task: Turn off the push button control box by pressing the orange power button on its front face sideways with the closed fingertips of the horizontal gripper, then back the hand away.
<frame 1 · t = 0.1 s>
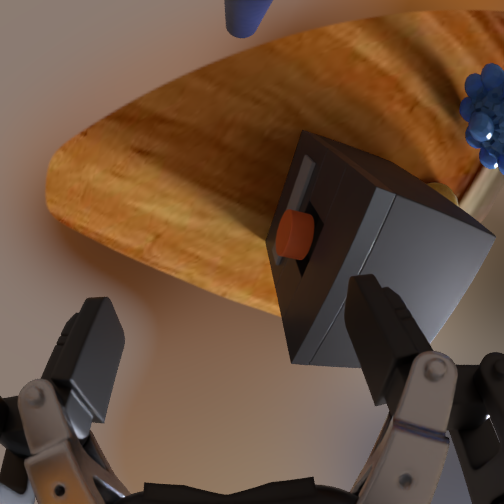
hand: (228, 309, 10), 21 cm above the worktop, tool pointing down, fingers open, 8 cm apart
power button: (294, 234, 21), point 10 cm above the worktop, slide at 0.1 cm
grapes: (455, 111, 26), on the worktop
push button control box: (331, 201, 31), on the worktop
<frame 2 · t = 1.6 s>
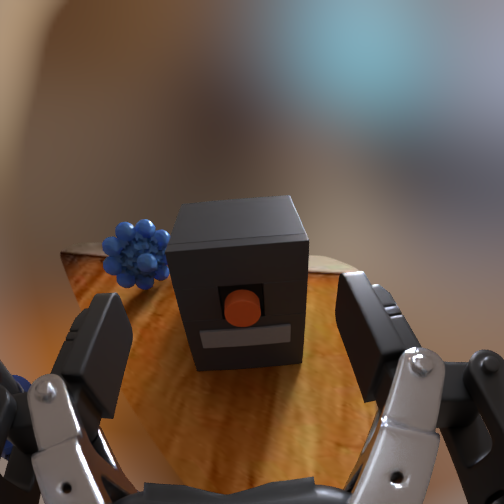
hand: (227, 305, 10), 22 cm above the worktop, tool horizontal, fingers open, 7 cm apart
power button: (242, 308, 28), point 10 cm above the worktop, slide at 0.1 cm
grapes: (151, 291, 48), on the worktop
push button control box: (247, 335, 39), on the worktop
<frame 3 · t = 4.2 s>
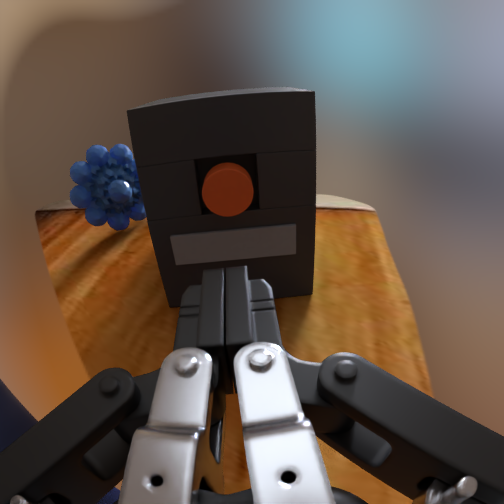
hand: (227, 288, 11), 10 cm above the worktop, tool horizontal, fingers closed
power button: (227, 189, 20), point 10 cm above the worktop, slide at 0.1 cm
grapes: (126, 232, 39), on the worktop
push button control box: (238, 267, 30), on the worktop
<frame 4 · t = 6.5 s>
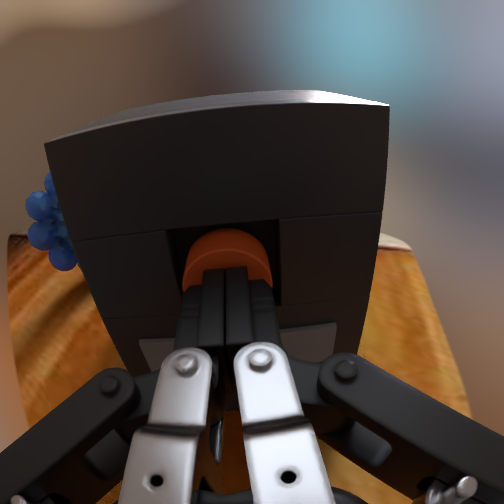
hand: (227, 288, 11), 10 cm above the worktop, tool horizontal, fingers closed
power button: (227, 275, 12), point 10 cm above the worktop, slide at -0.6 cm, touching gripper
grapes: (101, 277, 31), on the worktop
push button control box: (243, 346, 22), on the worktop
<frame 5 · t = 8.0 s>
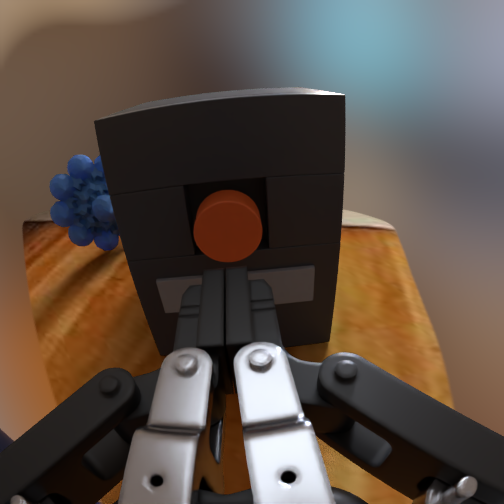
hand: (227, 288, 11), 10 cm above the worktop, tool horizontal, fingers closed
power button: (228, 226, 15), point 10 cm above the worktop, slide at 0.1 cm
grapes: (114, 253, 35), on the worktop
push button control box: (241, 303, 26), on the worktop
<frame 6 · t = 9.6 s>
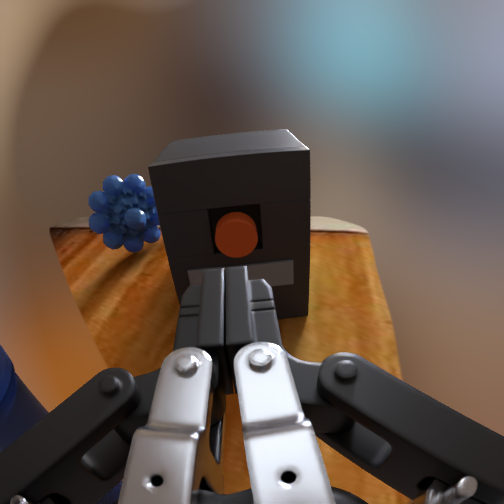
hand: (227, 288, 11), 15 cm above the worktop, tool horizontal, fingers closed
power button: (236, 234, 25), point 10 cm above the worktop, slide at 0.1 cm
grapes: (140, 254, 44), on the worktop
push button control box: (244, 290, 35), on the worktop
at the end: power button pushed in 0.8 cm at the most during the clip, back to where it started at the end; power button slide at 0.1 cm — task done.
